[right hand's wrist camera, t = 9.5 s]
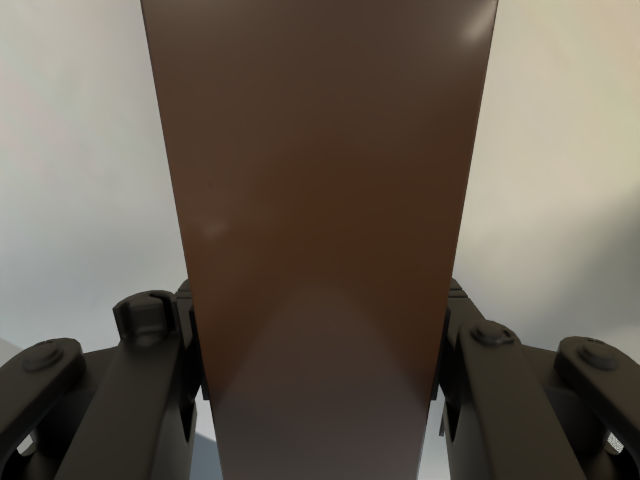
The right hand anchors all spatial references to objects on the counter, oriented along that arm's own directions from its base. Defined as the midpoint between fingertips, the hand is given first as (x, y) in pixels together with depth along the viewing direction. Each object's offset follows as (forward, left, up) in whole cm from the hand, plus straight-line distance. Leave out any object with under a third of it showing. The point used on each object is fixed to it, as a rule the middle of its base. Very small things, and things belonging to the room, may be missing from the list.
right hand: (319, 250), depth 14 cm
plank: (0, -15, +1) cm, 15 cm away
